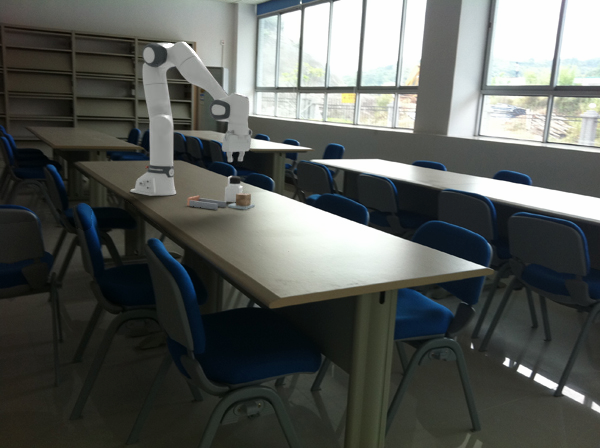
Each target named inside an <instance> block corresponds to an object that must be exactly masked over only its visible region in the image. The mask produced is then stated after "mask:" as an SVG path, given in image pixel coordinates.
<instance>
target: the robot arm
mask: <svg viewBox="0 0 600 448" xmlns="http://www.w3.org/2000/svg"><path fill="white" fill-rule="evenodd" d="M141 55H142V60H143V62H144V63H143V64H142V84H143V91H144V97H145V102H146V108H147V112H148V119H149V164H148V165H145V168H146V169H147V170H146V172H145V173H144V174H142V175H141V176H140V177H138V178H137V179H136V180H135V188H132V189H130V193H135V194H140V195H144V196H150V197H151V196H173V195H176V194H177V191H176V188H175V180H174V175H175V165H174V119H173V114H172V113H173V112H172V106H171V99H170V94H169V87H168V79H167V71H168V70H170V71H173V70H174V69H177V70H178V72H179V73H180V74H181V76H182V77H183V78H184V79H185V80H186V81H187V82H188V83H189V84H191V85H194V86H197V87H199V88H201V89H202V90H205V91H206V92H207V93H208V94H209V95H210V96H211V97H212V99H213V100H212V101H211V103H210V104H209V107H208V114H209V116H210V118H212V119H213V120H215V121H217V122H227V123H228V124H227V130H226V132H225V134H224V136H223V138H222V145H221V150H222V152H224V153H225V152H226V157H227V162H228V163H232V162H233V161H234V157H233V156H232V155H233V153H236V152H238V157H237V162H243V161H244V156H245V154H246V153H245V152H249V151H250V150H251V143H252V136H253V131H252V129H250V128H249V123H248V119H249V116H250V100H249V97H248V96H247V95H246V94H243V93H238V92H231V93H230V94H228V93H227V92H226V90H225V89H224V88H223V87H222V85H221V84H220V83H219V82H218V81H217V79H216V78H215V77H214V76H213V75H212V73H211V72H210V71H209V69H208V68H207V67H206V65H205V63H204V62H203V61H202V59H201V58H200V56H199V55H198V54H197V53H196V51H195V50H194V48H192V47H191V46H190V45H189V44H188V43H187V42H185V41H178V42H175V43H174V42H173V43H171V42H151V43H148V44H146V45H144V47H143V49H142V53H141Z"/></svg>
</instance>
